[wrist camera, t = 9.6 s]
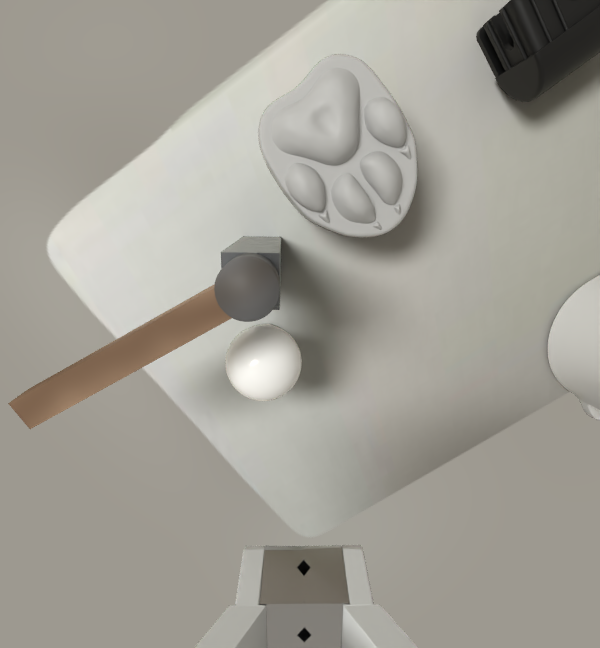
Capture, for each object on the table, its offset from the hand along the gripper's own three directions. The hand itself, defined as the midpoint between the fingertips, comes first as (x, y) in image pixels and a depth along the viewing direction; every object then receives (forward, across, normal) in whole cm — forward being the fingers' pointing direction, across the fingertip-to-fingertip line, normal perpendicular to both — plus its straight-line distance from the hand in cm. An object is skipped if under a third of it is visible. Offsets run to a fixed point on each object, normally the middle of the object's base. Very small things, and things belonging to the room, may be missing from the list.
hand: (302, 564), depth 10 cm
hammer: (+16, +9, -1) cm, 19 cm away
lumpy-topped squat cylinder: (+32, -4, -12) cm, 34 cm away
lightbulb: (+32, +3, +4) cm, 32 cm away
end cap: (+33, -21, -23) cm, 45 cm away
